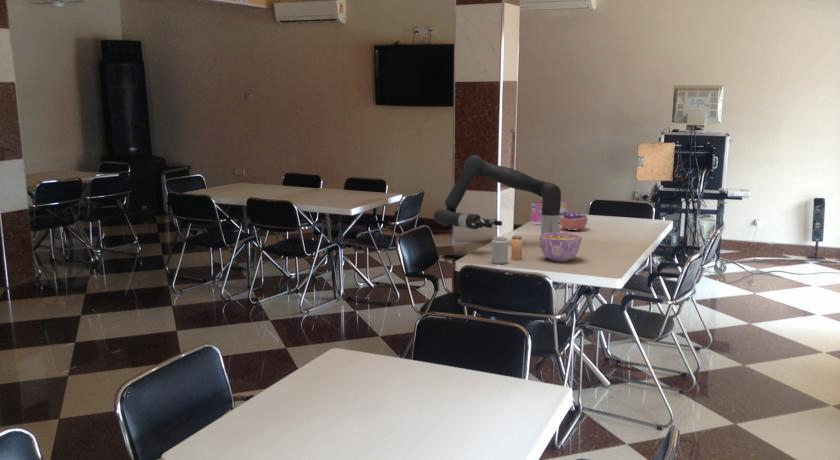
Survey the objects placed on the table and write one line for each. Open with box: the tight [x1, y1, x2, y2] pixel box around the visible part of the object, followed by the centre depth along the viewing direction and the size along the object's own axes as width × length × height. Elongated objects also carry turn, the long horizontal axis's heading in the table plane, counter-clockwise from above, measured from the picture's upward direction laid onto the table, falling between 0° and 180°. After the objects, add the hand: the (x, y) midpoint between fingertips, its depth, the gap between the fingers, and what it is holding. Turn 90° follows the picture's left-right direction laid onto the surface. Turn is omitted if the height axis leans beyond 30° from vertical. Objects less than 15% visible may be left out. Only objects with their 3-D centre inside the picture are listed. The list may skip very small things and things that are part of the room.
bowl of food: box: [538, 232, 583, 263], centre depth 332 cm, size 20×20×12 cm
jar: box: [510, 235, 523, 261], centre depth 334 cm, size 5×5×11 cm
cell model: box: [559, 211, 588, 231], centre depth 416 cm, size 17×20×11 cm
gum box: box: [530, 200, 569, 222], centre depth 441 cm, size 24×8×14 cm, turn 106°
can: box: [491, 236, 509, 265], centre depth 325 cm, size 8×8×12 cm
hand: (496, 224), depth 339 cm, fingers open, 8 cm apart
